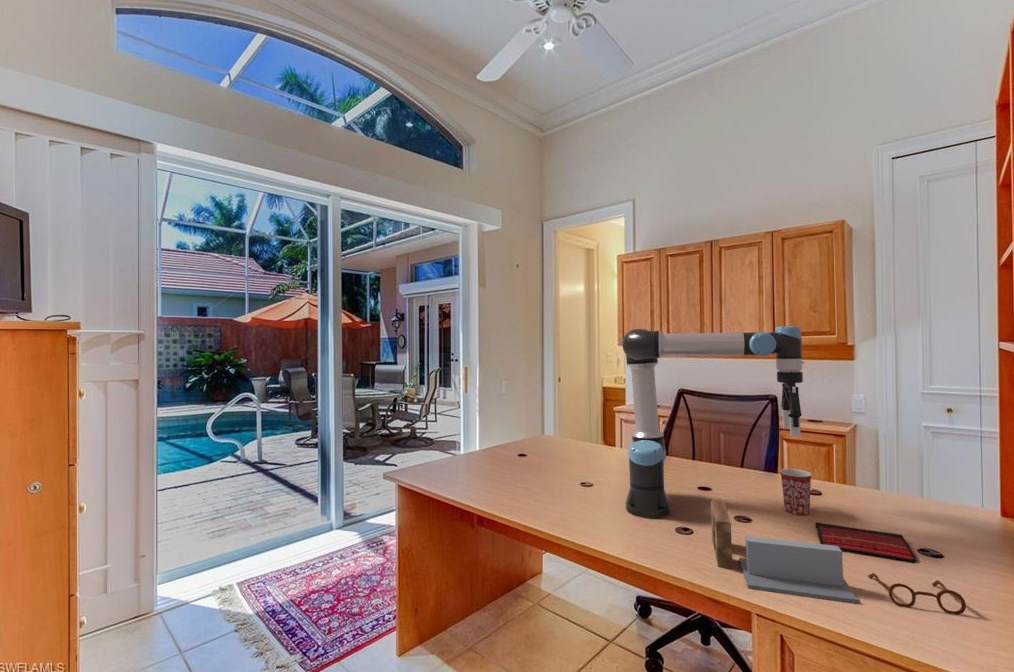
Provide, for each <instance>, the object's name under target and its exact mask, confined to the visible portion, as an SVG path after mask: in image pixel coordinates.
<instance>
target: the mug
mask: <svg viewBox="0 0 1014 672" xmlns="http://www.w3.org/2000/svg"><path fill="white" fill-rule="evenodd" d="M779 472H780V476H781V485H782V486H781V487H782V498H783V508H784V511H785V512H786V513H788V514H790V513H791V515H795V516H799V517H800V516H809V515H810V514H811V484H812V483H811V482H812V480H811V479H812V475H813V474H812V473H811V472H809V471H806V470H803V469H796V468H783V469H780V470H779Z"/></svg>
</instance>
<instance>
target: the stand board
mask: <svg viewBox="0 0 1014 672" xmlns="http://www.w3.org/2000/svg"><path fill="white" fill-rule="evenodd" d="M738 559H739V561H738V562H739V564H740V567H741V571H742V573H743V576H744V579H745V583H746V585H747V588H748V589H752V590H753V589H754V590H760V591H767V592H773V593H774V592H775V593H779V594H780V593H781V594H789V595H795V596H801V597H802V596H803V597H808V598H809V597H810V598H816V599H825V600H829V601H830V600H831V601H838V602H845V603H851V604H856V605H857V604H859V599H858V598H857V597H856V594H854V592H853V590H851V588H850V587H849V586H848V584H847V583H846V582H845V580H844V565H843V564H844V563H843V551H841V550H840V548H839V547H838V546H832V545H823V544H820V543H813V542H803V541H793V540H784V539H776V538H775V539H774V538H765V537H755V536H748V535H746V536H745V558H743V557H739V558H738Z"/></svg>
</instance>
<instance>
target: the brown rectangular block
mask: <svg viewBox="0 0 1014 672" xmlns="http://www.w3.org/2000/svg"><path fill="white" fill-rule="evenodd" d="M710 511H711V513H710V514H711V536H712V537H711V538H712V539H711V541H712V545H713V550H715V559H716V564H717V565H716V566H717V567H719V568H725V569H733V543H732V540H733V539H732V522H731V519H730V515H729V513H728V510H727V508H726V504H725V501H721V500H710Z"/></svg>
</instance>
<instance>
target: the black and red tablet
mask: <svg viewBox="0 0 1014 672" xmlns="http://www.w3.org/2000/svg"><path fill="white" fill-rule="evenodd" d="M814 524H815V528H816V529H817V535H818V540H819V544H823V545H832V546H838V547H839V548H840V550H841V551H842V552H847V553H848V552H849V553H854V554H861V555H868V556H873V557H880V558H884V559H885V558H886V559H891V560H895V561H899V562H904V563H911V564H914V563H917V561H918V559H917V557H916V556H915V553H914V552H913V550H912V548H911V547H910V545H909V543H908V542H907V540H906V539H905V538H904V536H903V534H898V533H891V532H885V531H878V530H870V529H863V528H857V527H849V526H843V525H835V524H829V523H825V522H824V523H823V522H817V521H816V522H815V523H814Z"/></svg>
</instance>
